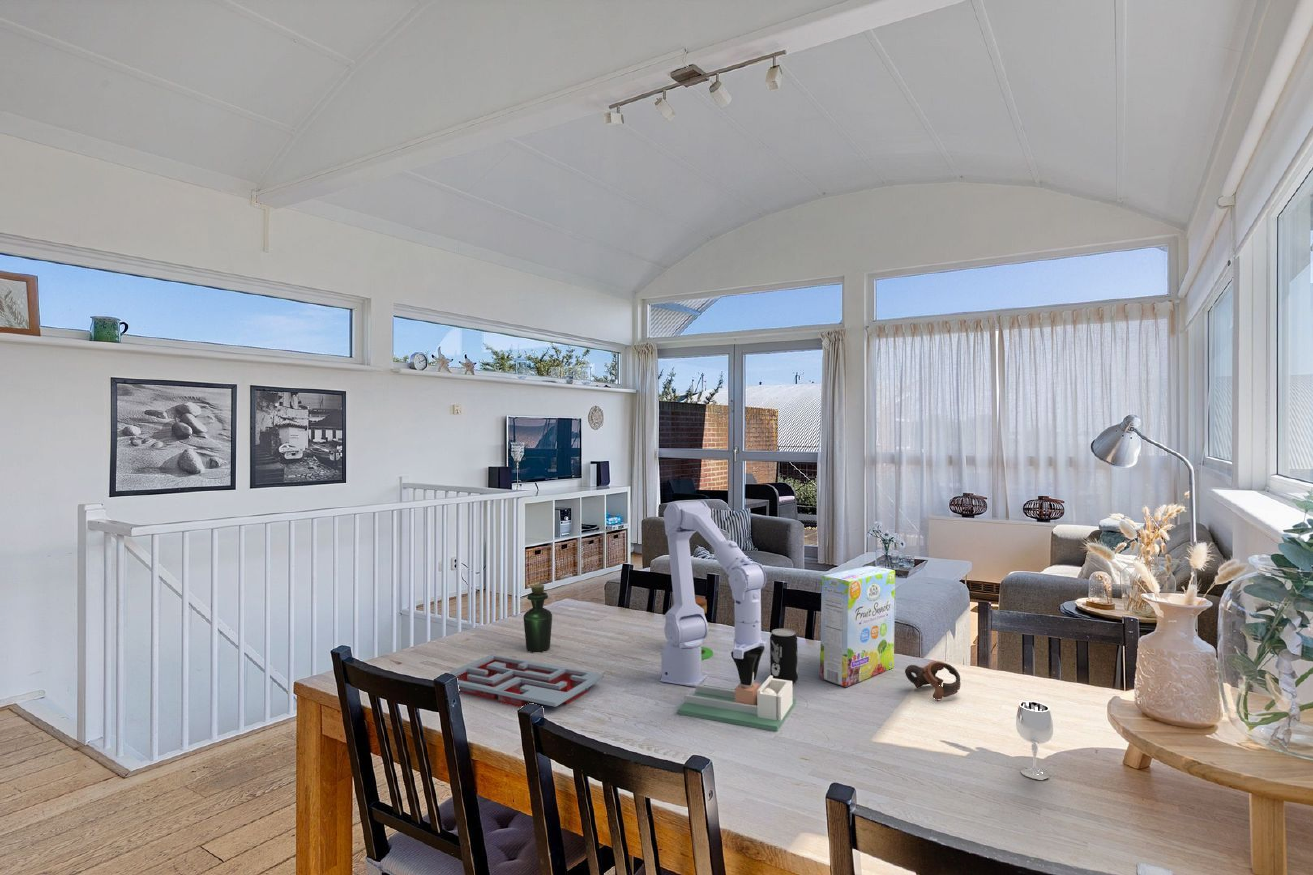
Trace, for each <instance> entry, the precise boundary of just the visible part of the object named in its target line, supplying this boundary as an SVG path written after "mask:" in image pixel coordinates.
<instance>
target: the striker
mask: <svg viewBox="0 0 1313 875" xmlns="http://www.w3.org/2000/svg"><path fill="white" fill-rule="evenodd" d="M760 687H761V684H760V683H757V682H755V681H754V672H753V678H752V683H751V685H750V686H748V685H742V684H741V682H740V683H739V684H738V685H737V686H736V687H735V688H734V690H735V702H737V703H743V704H749V705H755V706H757V690H758V689H759V688H760Z"/></svg>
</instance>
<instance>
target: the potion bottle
mask: <svg viewBox="0 0 1313 875" xmlns="http://www.w3.org/2000/svg"><path fill="white" fill-rule="evenodd" d="M530 588H531V593H528V594H527V598H526V599H527V600H529V601H530V602H531V607H532V608H530V609H528V610H527V611H525V613H524V615H523V626H524V629H523V630H524V636H525V647H526V648H525V649H526V650H527V652H529V651H530V652H529V653H533V652H540V653H543V652H542V651H545V652H547V651H549V650H550V648H551V638H552V626H553V625H552V624H553V614H552V612H551V610H549V609H547V608H545V607H544V604H545V600H547V599H548V598H549V596H548V593H547V592H544V589H545V585H544V584H532V585H531V586H530Z"/></svg>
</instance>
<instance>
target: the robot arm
mask: <svg viewBox="0 0 1313 875" xmlns="http://www.w3.org/2000/svg"><path fill="white" fill-rule="evenodd" d="M663 521H664V530H665V531H664V532H665V536H667V546H668V556H669V564H670V567H669V568H670V575H671V586H672V588H671V589H672V595H673V597H672V598H673V605H672V607H670V608H669V609H668V610H667V611H666V613H665V616H664V617H665V623H664V624H665V625H664V635H665V639H666V640H667V641H666V642H665V643H664V644H663V646H662V649H661V679H660V682H662V683H669V684H675V685H681V686H688V687H694V688H696V685H701V683H702V682H703V681H704V680H705V679H707V677H708V674H704V673H702V660H701V647H702V643H703V644H705V642H704V640H705V639H706V638H707V637H708V633H709V624H708V623H709V622H708V621H706V620H707V618H706V615H705V614H706V613H705V614H704V609H703V608H701V607H700V606H699V605H697V604H696V603H695V597H696V595H695V594H696V593H695V585H694V577H693V576H694V575H693V568H692V566H693V565H692V556H691V555H692V554H691V547H690V539H691V538H692V536H693V535H694V534H695V533H696V532H698V533H699V534H700V535H701V537H702V538H704V540H705V541H706V542H707V543H708V544H709V545H710V546H711V547H712V549H714V552H713V556H714V558H715V560H716V561H717V563H718V564H719V565H720V566H721V567H722V569H723V570H724V571H725V573H726V574H727V575H728V578H727V579H728V581H727V582H728V584H729V587H730V589H731V597H732V599H733V600H734V639H733V646H734V647H733V649H732V650H731V652H730V655H731V656H730V657H731V658H732V660H733V662H734V664H735V666H736V669H737V673H738V678H739V681H740V683H741V684H742V685H748V686H750V685H751V683H752V678H753V672H754V682H755V681H756V678H757V677H758V676H757V675H758V669H759V664H760V661H761V659H762V658H761V657H762V656H763V653H764V651H765V650H766V648H765V646H766V645H767V643H768V642H767V640H763V637H762V634H763V632H762V596H761V595H762V593H761V590H762V589H763V588H765V586H766V583H767V574H766V571H765V569H764V567H763V566H762V564H761V563H759V562H754V561H753V560H750V559H749V558H748V557H747V556H746V554H745V553H744V552H743V550H741V548H740V547H739V545H738V544H737V543H736V541H733V540H727V538H726V537H725V536H724V535H723V533H722V531H721V529H719V527H718V526H717V524H716V523H715V521H714V520H713V519H712V510H711V508H710V507H709V506H708V504H707V502H706V501H704V500H702V499H700V500H699V499H698V500H697V501H696V500H695V501H694V500H693V501H680V502H675V501H673V502H672V501H671V502H669V503H668V504H667V505H666V508H665V509H664V511H663ZM690 615H692V616H690ZM707 622H708V623H707Z"/></svg>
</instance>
